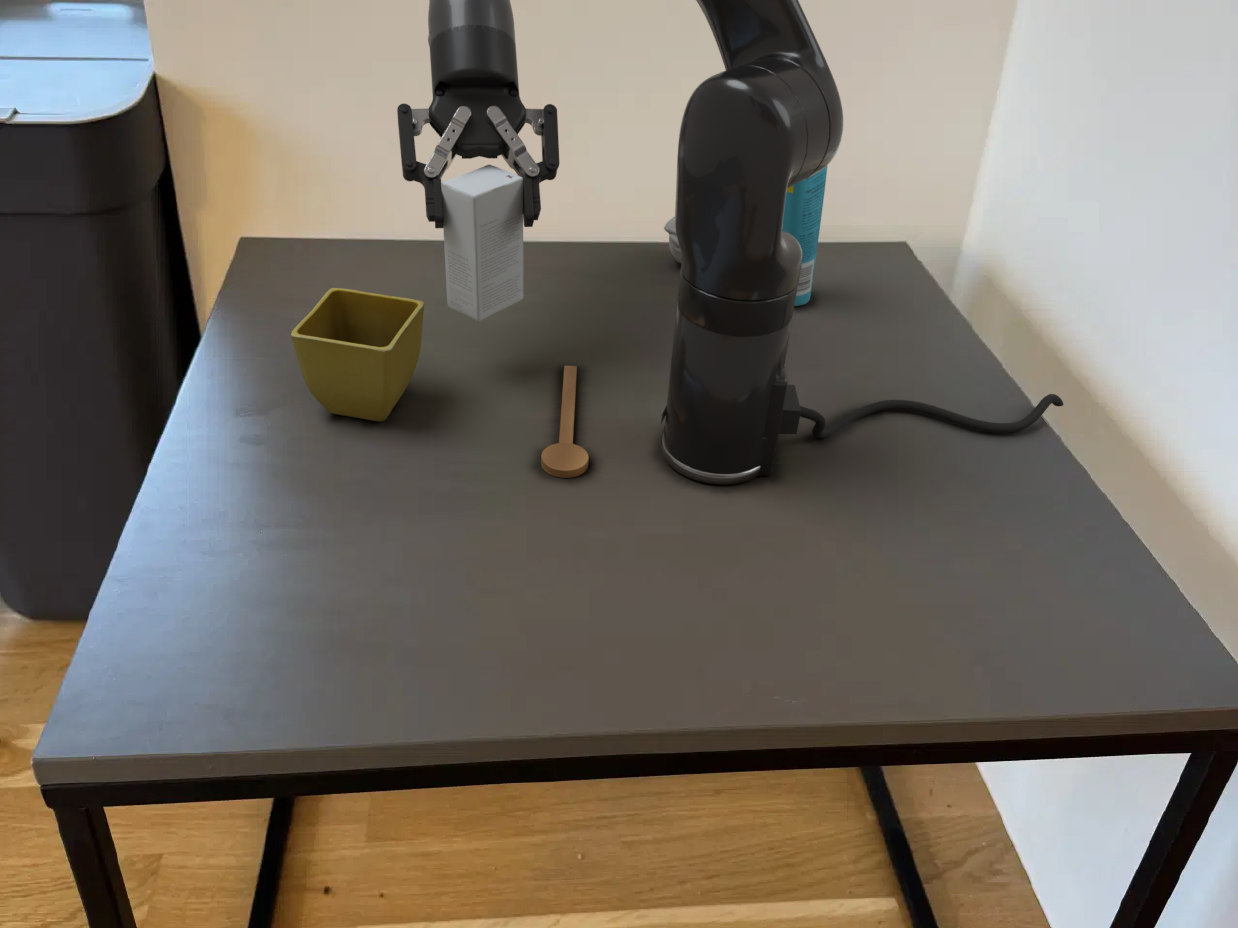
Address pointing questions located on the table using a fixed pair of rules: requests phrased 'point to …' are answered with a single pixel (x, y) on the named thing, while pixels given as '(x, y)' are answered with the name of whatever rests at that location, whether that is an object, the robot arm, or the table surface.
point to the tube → (805, 226)
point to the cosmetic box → (483, 241)
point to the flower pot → (359, 351)
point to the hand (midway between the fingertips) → (484, 224)
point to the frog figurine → (673, 240)
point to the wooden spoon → (566, 436)
